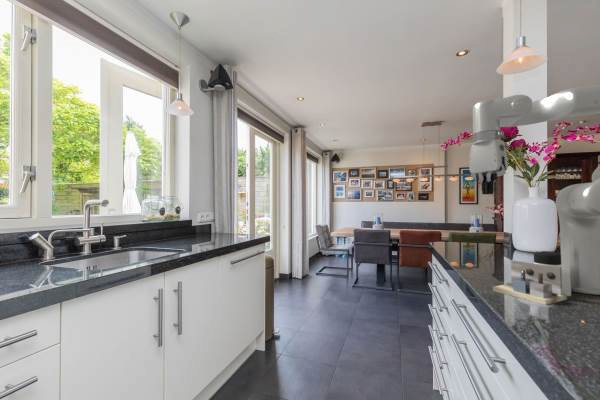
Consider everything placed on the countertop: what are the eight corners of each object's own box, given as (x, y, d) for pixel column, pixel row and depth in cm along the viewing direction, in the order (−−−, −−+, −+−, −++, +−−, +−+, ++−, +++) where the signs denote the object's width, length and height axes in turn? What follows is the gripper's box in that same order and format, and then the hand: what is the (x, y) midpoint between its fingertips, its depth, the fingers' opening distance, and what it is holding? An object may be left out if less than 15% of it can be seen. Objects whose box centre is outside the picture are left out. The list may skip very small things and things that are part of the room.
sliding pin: (522, 288, 80) (521, 268, 80) (534, 291, 77) (533, 270, 77) (513, 290, 78) (512, 270, 79) (525, 293, 76) (524, 272, 76)
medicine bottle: (572, 297, 77) (570, 254, 78) (542, 296, 79) (540, 253, 79) (554, 290, 84) (552, 250, 85) (527, 288, 86) (525, 249, 86)
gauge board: (513, 286, 86) (513, 259, 87) (567, 299, 74) (566, 267, 75) (492, 290, 82) (492, 262, 83) (545, 304, 71) (544, 271, 71)
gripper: (518, 134, 87) (519, 193, 86) (472, 144, 101) (473, 195, 100) (503, 132, 84) (504, 192, 84) (457, 142, 98) (459, 195, 97)
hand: (487, 194), depth 92 cm, fingers closed
